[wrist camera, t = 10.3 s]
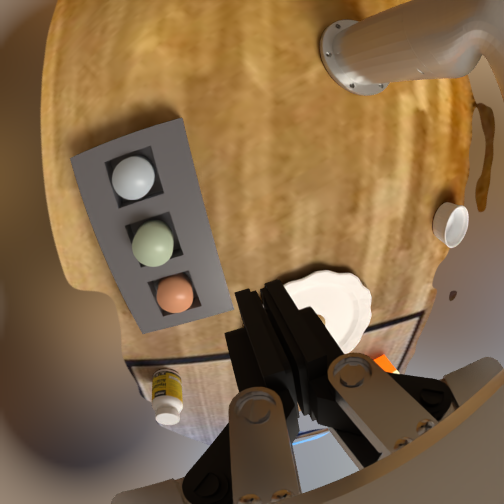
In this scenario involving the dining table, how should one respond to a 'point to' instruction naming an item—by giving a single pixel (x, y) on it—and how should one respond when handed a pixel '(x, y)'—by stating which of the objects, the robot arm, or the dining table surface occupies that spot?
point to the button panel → (154, 208)
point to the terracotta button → (175, 293)
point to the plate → (335, 303)
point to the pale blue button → (134, 177)
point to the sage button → (153, 243)
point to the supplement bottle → (167, 396)
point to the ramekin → (450, 223)
